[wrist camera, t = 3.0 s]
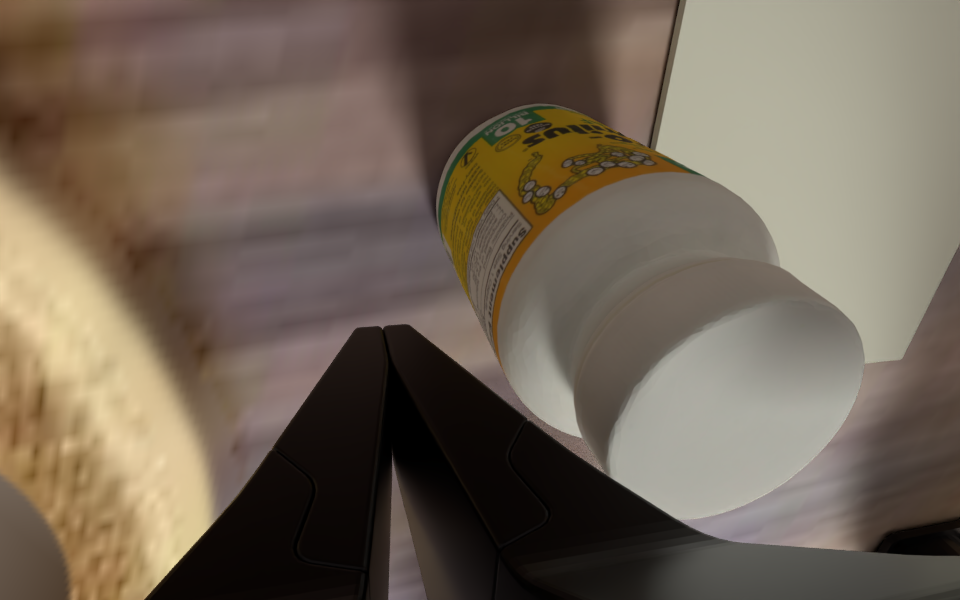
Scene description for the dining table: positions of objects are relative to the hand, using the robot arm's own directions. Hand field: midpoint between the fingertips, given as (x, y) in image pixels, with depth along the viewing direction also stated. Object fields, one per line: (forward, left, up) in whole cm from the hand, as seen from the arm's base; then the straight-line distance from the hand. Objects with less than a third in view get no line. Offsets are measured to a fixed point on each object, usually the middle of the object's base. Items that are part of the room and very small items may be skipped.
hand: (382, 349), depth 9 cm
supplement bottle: (-5, 0, -7) cm, 8 cm away
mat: (-15, 0, -7) cm, 16 cm away
